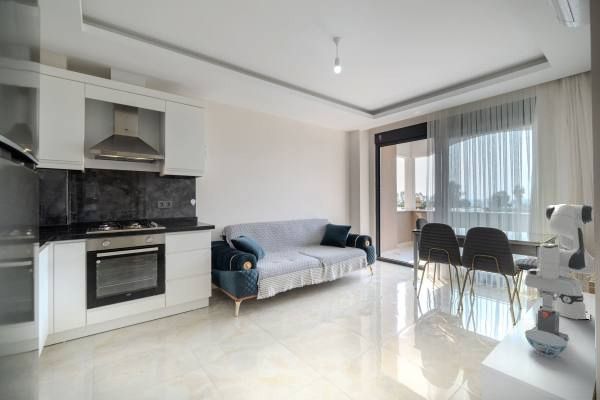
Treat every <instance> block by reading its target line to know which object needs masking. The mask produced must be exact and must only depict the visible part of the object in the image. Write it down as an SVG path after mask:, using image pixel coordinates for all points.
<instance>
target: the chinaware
mask: <svg viewBox="0 0 600 400" xmlns="http://www.w3.org/2000/svg"><path fill="white" fill-rule="evenodd" d="M524 335H525V338H526V340H527V343H528V344H529V345H530V346H531V347H532V348H533V349H534V350H535V352H536V351H537V352H538V353H537V352H536V353H537V354H539V355H541V354H542V355H541V356H543V355H544V357H548V358H554V357H555V356H556V355H559V354H561V353H564V351H565V350H566V348H567V345H568V343H567V341H566V340H564V339H562V338H561V337H559V336H557V335H554V334H551V333H548V332H544V331H540V330H531V329H527V330H525V331H524Z"/></svg>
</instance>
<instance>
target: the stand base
mask: <svg viewBox="0 0 600 400" xmlns="http://www.w3.org/2000/svg"><path fill="white" fill-rule="evenodd" d="M542 309H543V308H541V309H540V308H539V309H538V310H537V312H538V325H537V324H536V325H535V326H534V327H532V328H531V329H530V330H540V331H544V332H548V333H551V334H554V335H557V336H559V337H561V338H562V339H564V340H565V341H566V340H568V338H569V334H567V333H563V332H561V331H560V315H559V312H557V311H555V313H554V314H552V313H548V312H545V311H542Z"/></svg>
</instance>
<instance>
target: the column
mask: <svg viewBox="0 0 600 400" xmlns="http://www.w3.org/2000/svg"><path fill="white" fill-rule="evenodd" d="M541 291H542V293H543V298H542V305H543V309H542V311H545V312H548V313H552V314H554V313H555V300H553V297H554V296H555V297H556V293H555V292H551V291H547V290H541Z"/></svg>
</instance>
